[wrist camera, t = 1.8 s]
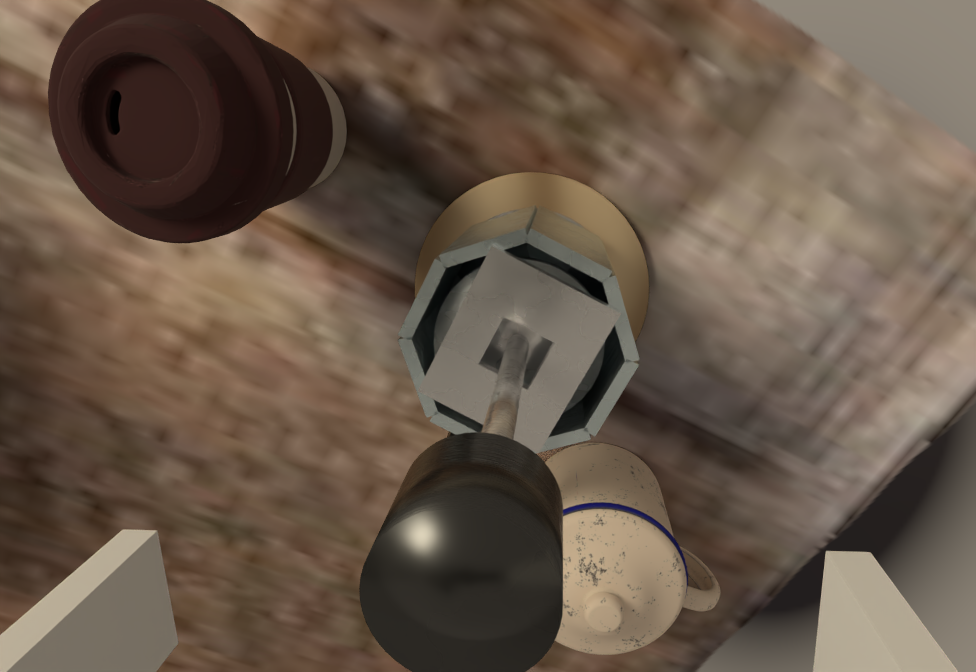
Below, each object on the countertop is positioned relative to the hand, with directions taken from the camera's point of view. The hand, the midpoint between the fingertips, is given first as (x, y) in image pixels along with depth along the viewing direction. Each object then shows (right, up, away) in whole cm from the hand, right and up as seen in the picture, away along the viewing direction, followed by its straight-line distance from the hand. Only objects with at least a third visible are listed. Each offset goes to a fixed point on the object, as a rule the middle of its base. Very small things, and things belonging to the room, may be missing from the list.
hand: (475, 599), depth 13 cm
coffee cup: (-11, +18, +27) cm, 34 cm away
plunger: (+2, +5, +18) cm, 18 cm away
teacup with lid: (+9, -6, +32) cm, 33 cm away
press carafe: (+2, +7, +28) cm, 29 cm away
